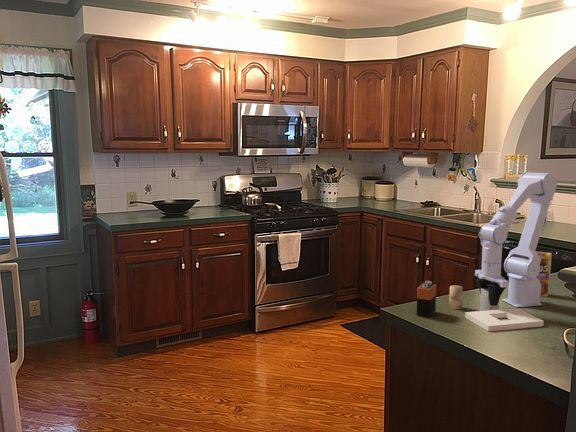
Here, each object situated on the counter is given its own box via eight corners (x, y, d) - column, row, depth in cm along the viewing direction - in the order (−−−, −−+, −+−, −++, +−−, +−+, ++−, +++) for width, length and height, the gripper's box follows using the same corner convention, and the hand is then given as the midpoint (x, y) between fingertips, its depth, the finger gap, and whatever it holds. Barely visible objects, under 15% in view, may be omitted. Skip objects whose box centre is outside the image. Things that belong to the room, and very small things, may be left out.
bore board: (516, 312, 156) (516, 307, 156) (543, 326, 144) (543, 320, 144) (465, 317, 152) (465, 312, 152) (488, 331, 141) (488, 326, 140)
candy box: (519, 293, 176) (522, 251, 174) (521, 290, 179) (524, 249, 177) (547, 297, 171) (550, 254, 169) (549, 294, 175) (552, 252, 172)
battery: (435, 311, 158) (436, 281, 156) (429, 318, 152) (430, 286, 151) (422, 309, 160) (423, 279, 159) (415, 315, 154) (416, 284, 153)
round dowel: (457, 305, 164) (458, 284, 163) (464, 309, 160) (465, 288, 159) (446, 306, 163) (447, 285, 162) (453, 310, 159) (453, 289, 158)
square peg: (491, 307, 161) (492, 287, 160) (498, 311, 157) (499, 290, 156) (480, 308, 160) (480, 288, 159) (487, 312, 156) (488, 291, 155)
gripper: (467, 257, 162) (465, 297, 164) (494, 268, 148) (492, 311, 150) (486, 256, 164) (484, 295, 166) (514, 266, 150) (512, 309, 152)
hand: (489, 303), depth 158 cm, fingers closed on square peg, 4 cm apart
